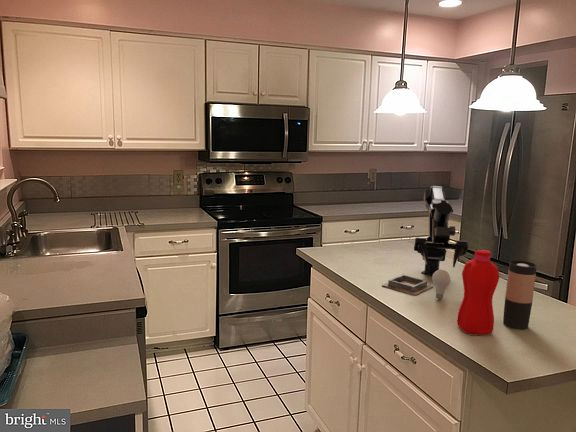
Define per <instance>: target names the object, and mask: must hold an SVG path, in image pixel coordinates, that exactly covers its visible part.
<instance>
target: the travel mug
mask: <svg viewBox="0 0 576 432" xmlns="http://www.w3.org/2000/svg"><path fill="white" fill-rule="evenodd" d="M508 266H509V267H508V273H507V281H506V290H505V295H504V308H503V320H502V321H503V322H502V324H503V325H504V326H505V327H507V328H509V329H513V330H517V331H524V330H527V329H528V328H529V324H530V317H531V311H532V306H533V301H534V299H533V298H534V290H535V283H536V276H537V267H538V266H537V264H536V263H534V262H530V261H528V260H527V261H526V260H520V259H517V260H515V259H514V260H511V261H509V265H508Z"/></svg>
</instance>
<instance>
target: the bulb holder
mask: <svg viewBox="0 0 576 432" xmlns="http://www.w3.org/2000/svg"><path fill="white" fill-rule="evenodd" d="M381 287H383V288H387V289H389V290H393V291H397V292H400V293H403V294H407V295H410V296H414V297H415V296H418V295H420V294H423V293H424V292H426V291H428V290H431V289H432V288H434V286H433V285H431V284H428V280H425V279H421V278H417V277H413V276H410V275H405V274H401V275H398V276H395V277H393V278H390V279H389V280H388V281H387V282H386V283H383V284H382V285H381Z"/></svg>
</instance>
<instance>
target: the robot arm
mask: <svg viewBox="0 0 576 432" xmlns="http://www.w3.org/2000/svg"><path fill="white" fill-rule="evenodd" d="M423 202H424V207H425V208H426V210H427V211H428V236H427V237H420V236H419V237H415V238H414V242H413V251H414V252H417V253H418V254H420V255H421V257H422V260H424V263H425V264H424V270H422V271H420V273H421V274H424V275H426V276H430V277H431V276H433V274H434V272H436V271H437V270H440V263H441V262H444V261H446V255H447V250H454V254H453V260H452V267H453V268H455V267H456V263H457V261H458V259H459V258H460V257H462V256H463V255H467V253H468V249H469V243H468V241H467V240H456V241H455V243H449V242H450V240H451V238H450V237H451V236H452V237H455V235H456V226H451V225H450V226H449V221H450V218H451V215H452V213H454V209H453V206H452V205H451V204H450V203H449V201H448V200H446V192H445V190H444V187H443V186H441V185H440V186H438V185H432V186H430V188H428V189H426V190H424V194H423Z"/></svg>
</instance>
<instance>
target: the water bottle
mask: <svg viewBox="0 0 576 432" xmlns="http://www.w3.org/2000/svg"><path fill="white" fill-rule="evenodd" d="M491 254H492V252H491V251H490V250H487V249H478V250H475V251H474V258H473V259H470V260H468V261H467V262H465V264H464V266H463V269H462V272H461V277H462V283H463V284H462V285H463V291H464V292H463V298H462V301H461V303H460V307H459V309H458V313H457V319H456V324H457V327H458V328H460V329H461V330H462V331H463V332H464V333H466V334H467V335H471V336H488V335H492V333H493V332H494V327H495V326H494V325H495V324H494V323H495V315H494V307H493V297H494V294H495V292H496V289H497V286H498V283H499V282H500V280H499V279H500V274H499V269H498V266H496V264H495V263H493V262H492V261H491Z"/></svg>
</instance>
